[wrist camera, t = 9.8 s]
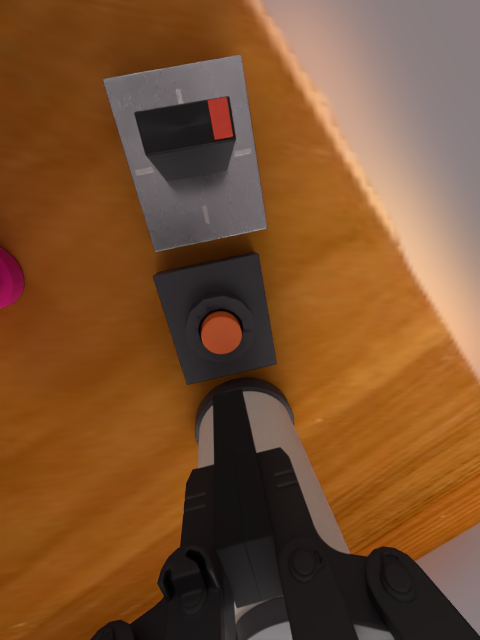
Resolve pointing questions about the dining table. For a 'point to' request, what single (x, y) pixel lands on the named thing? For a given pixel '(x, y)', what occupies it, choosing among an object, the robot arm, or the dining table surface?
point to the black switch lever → (188, 137)
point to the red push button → (221, 332)
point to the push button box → (211, 296)
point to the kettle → (278, 431)
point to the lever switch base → (198, 191)
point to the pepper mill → (9, 279)
